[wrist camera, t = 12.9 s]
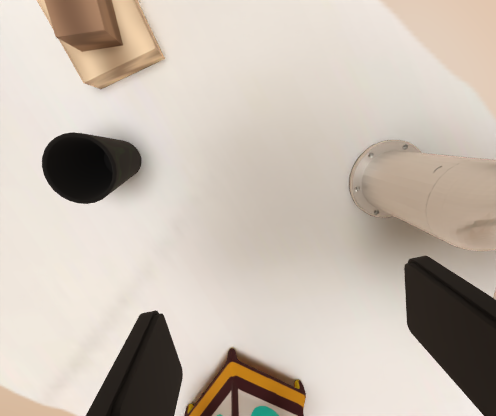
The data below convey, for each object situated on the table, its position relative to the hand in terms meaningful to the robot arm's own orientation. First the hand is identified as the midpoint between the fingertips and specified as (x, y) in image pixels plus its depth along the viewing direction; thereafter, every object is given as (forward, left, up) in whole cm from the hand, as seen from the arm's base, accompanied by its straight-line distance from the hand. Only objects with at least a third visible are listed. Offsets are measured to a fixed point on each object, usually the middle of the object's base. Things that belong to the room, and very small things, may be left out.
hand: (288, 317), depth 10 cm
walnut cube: (+13, -23, -29) cm, 39 cm away
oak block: (+13, -23, -34) cm, 43 cm away
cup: (+17, -7, -34) cm, 38 cm away
